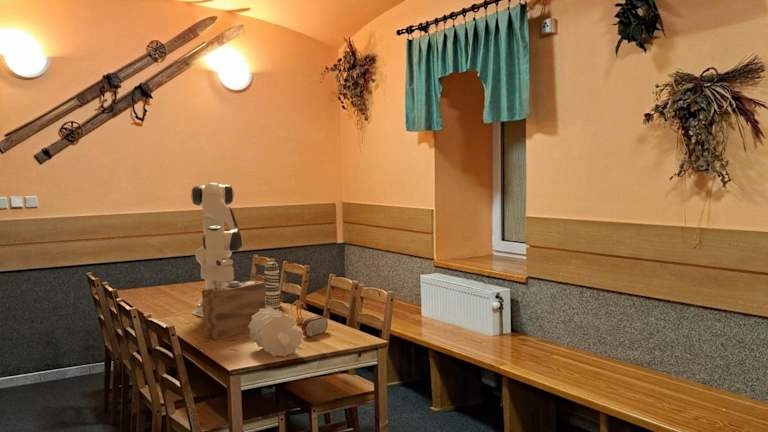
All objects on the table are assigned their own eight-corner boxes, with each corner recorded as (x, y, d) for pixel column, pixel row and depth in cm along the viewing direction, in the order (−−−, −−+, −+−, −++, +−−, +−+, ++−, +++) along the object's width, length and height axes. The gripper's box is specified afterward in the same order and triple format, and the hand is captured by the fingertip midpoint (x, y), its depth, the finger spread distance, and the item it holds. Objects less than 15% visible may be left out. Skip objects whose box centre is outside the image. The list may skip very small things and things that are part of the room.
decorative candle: (278, 308, 384) (276, 263, 382) (262, 307, 386) (260, 263, 384) (283, 304, 393) (281, 261, 391) (268, 304, 395) (266, 261, 393)
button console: (204, 336, 323) (202, 290, 321) (252, 323, 347) (250, 280, 345) (218, 339, 317) (215, 292, 315) (266, 326, 341) (264, 282, 339)
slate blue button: (226, 287, 330) (226, 282, 330) (234, 286, 334) (234, 281, 333) (233, 288, 327) (233, 283, 326) (241, 286, 331) (241, 281, 330)
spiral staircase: (275, 369, 280) (257, 352, 302) (311, 345, 287) (290, 330, 309) (255, 333, 275) (238, 318, 297) (292, 309, 281) (272, 297, 303)
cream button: (242, 288, 338) (242, 283, 338) (250, 286, 342) (250, 281, 342) (249, 289, 335) (249, 284, 335) (257, 287, 339) (257, 282, 339)
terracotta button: (210, 295, 322) (209, 290, 322) (218, 293, 326) (218, 288, 326) (216, 296, 319) (216, 291, 319) (225, 294, 323) (225, 289, 323)
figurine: (293, 325, 339) (292, 302, 338) (289, 323, 344) (288, 299, 344) (309, 323, 342) (308, 300, 342) (305, 321, 348) (304, 298, 347)
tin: (324, 331, 326) (323, 313, 325) (329, 332, 324) (328, 314, 323) (301, 338, 314) (300, 320, 314) (306, 339, 312) (305, 320, 312)
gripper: (196, 260, 325) (198, 289, 326) (224, 262, 313) (226, 292, 314) (207, 258, 330) (208, 286, 331) (235, 260, 318) (237, 290, 319)
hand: (217, 289), depth 322 cm, fingers closed, pressing on terracotta button
